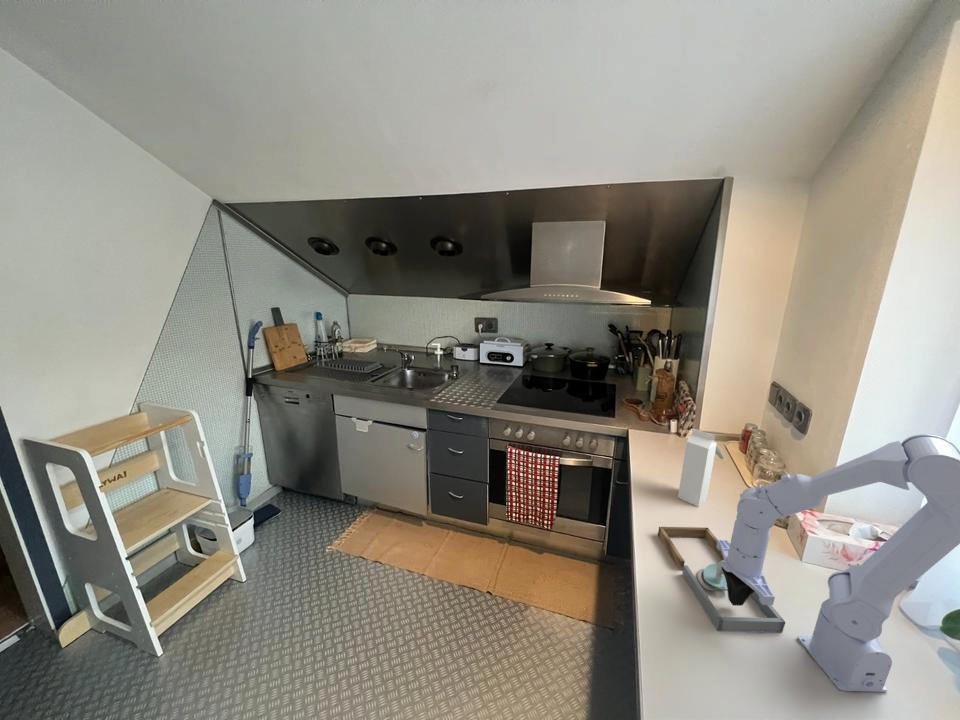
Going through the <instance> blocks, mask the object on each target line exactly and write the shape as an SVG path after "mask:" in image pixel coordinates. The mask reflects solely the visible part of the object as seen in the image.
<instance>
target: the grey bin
mask: <svg viewBox="0 0 960 720" xmlns="http://www.w3.org/2000/svg"><path fill="white" fill-rule="evenodd" d="M681 573H682V577H683V578H684V580H685V581H686V583H687V585H688V586H689V588H690V589H691V591H692V592H693V594H694V596H695V598H696V599H697V601H698V602H699V604H700V605H701V607H702V608H703V611H704V612H705V613H706V615H707V617H708V619H710V621H711V623H712V624H713V626H714V628H715V630H716V631H717V632H752V633H753V632H758V633H760V632H761V633H762V632H763V633H764V632H765V633H768V632H769V633H770V632H771V633H783V632H784V627H785V624H786V621H785V620H784V618H783V617H782V616H781V615H780V613H779V612H778V611H777V610H776V609H775V607H774V605H762V604H761V602H760V601H759V598H760V597H759V596H758V594H757V593H756V592H753V593H752V594H751V595H750V596H749V597H750V598H751V599H752V600H753V601H754V603H755V604H756V605H757V607H758V608H759V609H760V610H761V612H762V613H763V614H764V615H765V617H740V616H739V617H738V616H737V617H735V616H732V617H731V616H721V614H720V613H719V611H718V609H717V608H716V607H715V605H714V604H713V603H712V601H711V600H710V597H709V596H708V595H707V593H706V591H705V590H704V588H703V586H702V585H701V584H700V583H699V581H698V578H696V576H695V575H694V574H693V572H692V570H691V568H689V565H687V564H686V565H685V564H684V568H683V570H682V572H681Z"/></svg>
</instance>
